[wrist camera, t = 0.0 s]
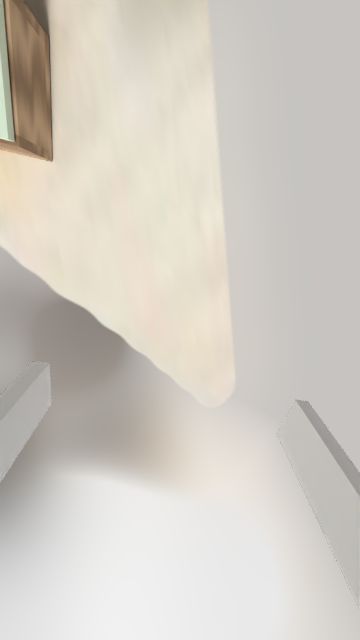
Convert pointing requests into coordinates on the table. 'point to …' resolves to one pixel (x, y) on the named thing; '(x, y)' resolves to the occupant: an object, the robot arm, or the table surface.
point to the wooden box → (28, 82)
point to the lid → (5, 85)
